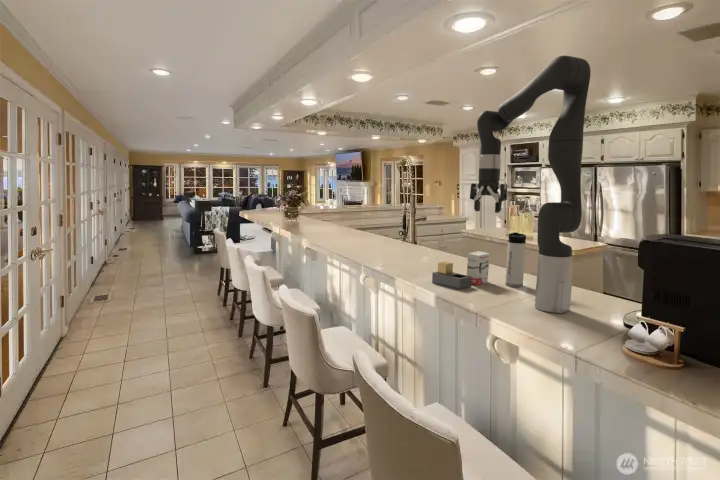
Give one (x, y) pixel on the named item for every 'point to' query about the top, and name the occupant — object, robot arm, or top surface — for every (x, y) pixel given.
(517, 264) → the travel mug
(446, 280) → the grey hollow block
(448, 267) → the tan wooden block
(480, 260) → the ink box
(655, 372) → the top surface
